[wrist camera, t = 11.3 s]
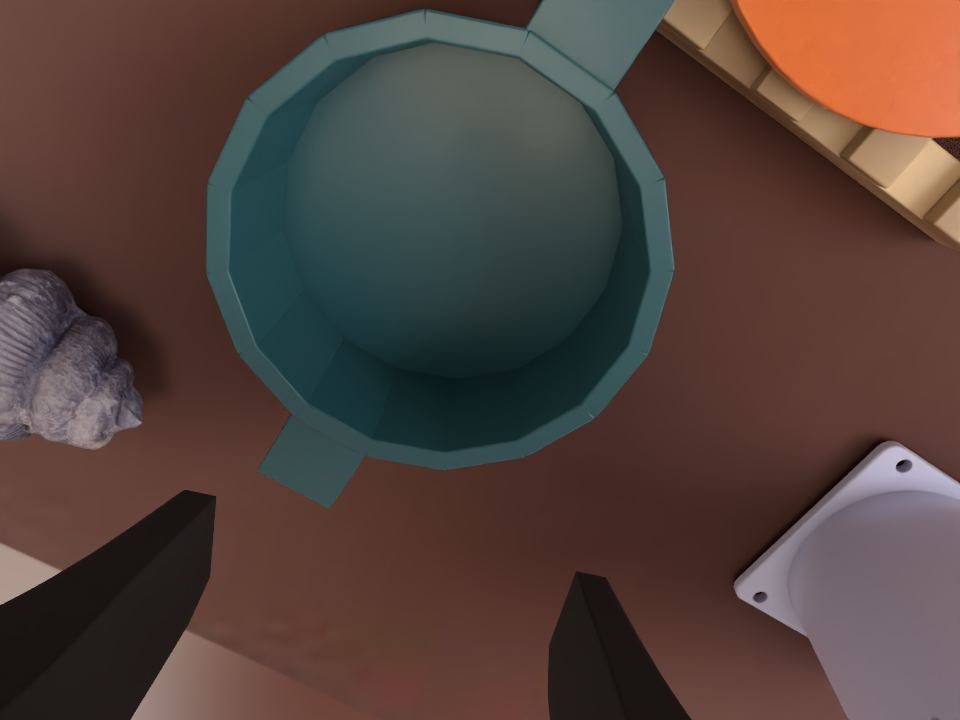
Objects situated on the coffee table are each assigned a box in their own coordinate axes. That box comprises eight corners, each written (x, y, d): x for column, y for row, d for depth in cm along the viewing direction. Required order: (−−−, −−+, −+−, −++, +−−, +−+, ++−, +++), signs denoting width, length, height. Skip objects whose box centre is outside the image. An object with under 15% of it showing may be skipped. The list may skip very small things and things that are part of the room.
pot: (782, 85, 19) (862, 99, 15) (463, 495, 26) (452, 592, 21) (436, -180, 17) (409, -257, 13) (179, 337, 23) (101, 408, 19)
